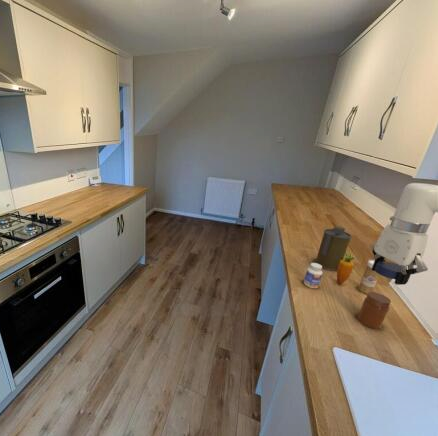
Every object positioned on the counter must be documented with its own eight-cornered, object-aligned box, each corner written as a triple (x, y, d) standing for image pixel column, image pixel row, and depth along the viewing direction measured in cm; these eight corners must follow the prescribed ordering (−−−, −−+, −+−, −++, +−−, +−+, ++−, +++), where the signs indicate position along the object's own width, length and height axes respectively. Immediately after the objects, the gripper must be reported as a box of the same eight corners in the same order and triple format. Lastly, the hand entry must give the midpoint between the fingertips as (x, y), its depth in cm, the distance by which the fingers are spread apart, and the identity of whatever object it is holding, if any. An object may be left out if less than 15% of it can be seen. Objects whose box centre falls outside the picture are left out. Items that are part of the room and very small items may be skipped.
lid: (385, 278, 73) (388, 271, 72) (369, 267, 79) (371, 260, 79) (410, 281, 72) (414, 273, 71) (392, 268, 78) (395, 261, 78)
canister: (323, 258, 124) (334, 222, 117) (345, 268, 115) (358, 230, 108) (309, 261, 120) (319, 225, 113) (330, 272, 111) (343, 233, 104)
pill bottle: (311, 289, 99) (317, 269, 96) (300, 282, 104) (305, 262, 100) (321, 287, 100) (327, 267, 97) (310, 280, 105) (315, 261, 102)
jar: (366, 314, 86) (376, 290, 82) (385, 327, 80) (397, 302, 77) (352, 316, 85) (362, 292, 81) (371, 330, 79) (382, 304, 75)
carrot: (348, 288, 100) (360, 257, 95) (334, 286, 102) (345, 255, 96) (343, 281, 104) (354, 251, 99) (330, 279, 106) (340, 249, 101)
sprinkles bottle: (359, 292, 98) (371, 264, 93) (356, 286, 102) (366, 258, 97) (374, 295, 96) (386, 266, 91) (369, 289, 100) (381, 261, 95)
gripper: (369, 216, 78) (353, 263, 84) (430, 237, 62) (405, 294, 68) (391, 215, 78) (373, 262, 84) (458, 237, 62) (430, 294, 68)
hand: (387, 276), depth 76 cm, fingers closed on lid, 6 cm apart
